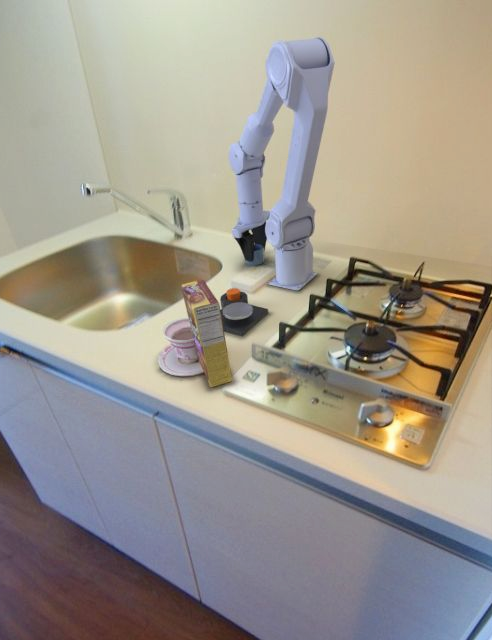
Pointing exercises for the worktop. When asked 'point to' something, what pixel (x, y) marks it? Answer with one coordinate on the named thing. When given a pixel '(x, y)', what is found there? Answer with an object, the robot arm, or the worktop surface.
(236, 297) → the tare button
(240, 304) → the grey round disc
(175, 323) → the teacup
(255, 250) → the blue cup
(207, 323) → the candy box
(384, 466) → the worktop surface
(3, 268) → the worktop surface
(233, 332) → the scale
